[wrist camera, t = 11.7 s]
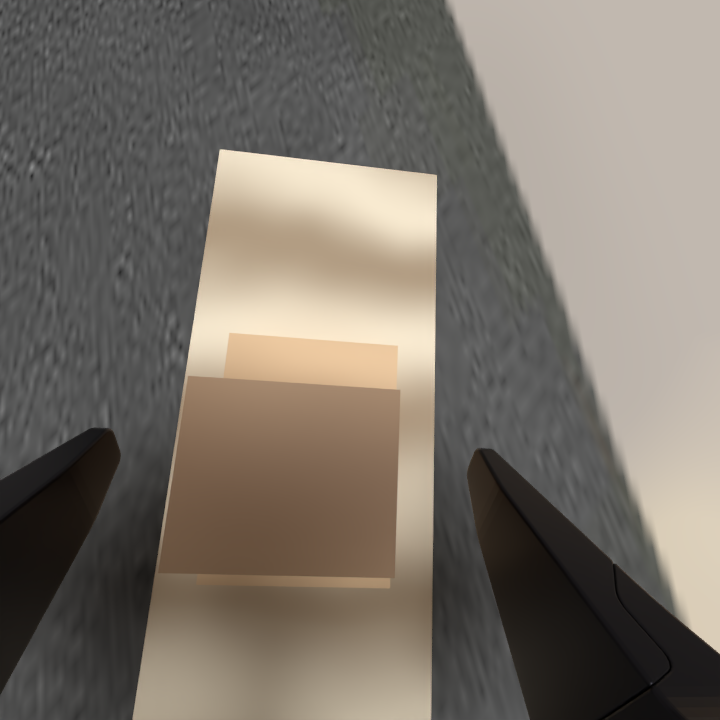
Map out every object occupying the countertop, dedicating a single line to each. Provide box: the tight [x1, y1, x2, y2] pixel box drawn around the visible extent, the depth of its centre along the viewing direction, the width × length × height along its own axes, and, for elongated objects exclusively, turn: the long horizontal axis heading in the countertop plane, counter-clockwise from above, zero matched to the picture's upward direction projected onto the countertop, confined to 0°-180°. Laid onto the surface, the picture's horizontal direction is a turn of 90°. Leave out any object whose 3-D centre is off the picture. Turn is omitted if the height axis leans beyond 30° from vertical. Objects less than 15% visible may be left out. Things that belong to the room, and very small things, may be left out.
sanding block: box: [158, 333, 400, 588], centre depth 10 cm, size 8×6×8 cm
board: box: [133, 149, 437, 720], centre depth 16 cm, size 24×10×3 cm, turn 177°
